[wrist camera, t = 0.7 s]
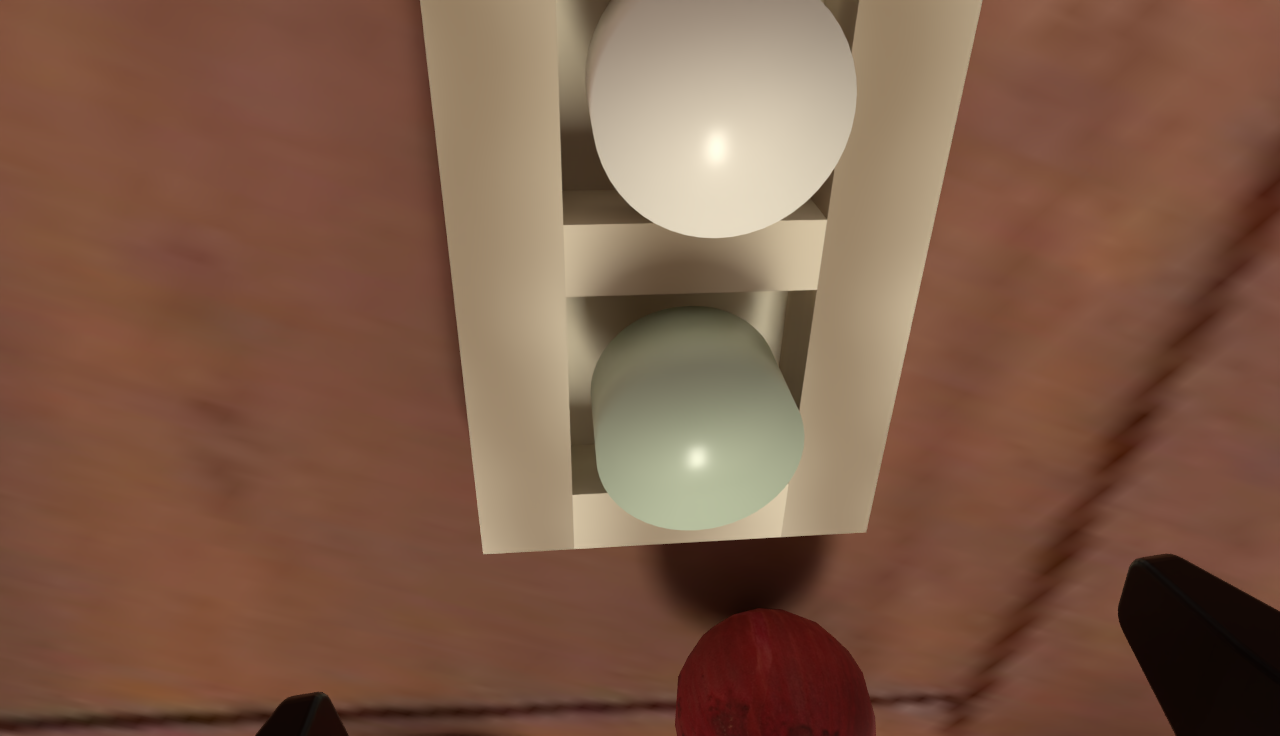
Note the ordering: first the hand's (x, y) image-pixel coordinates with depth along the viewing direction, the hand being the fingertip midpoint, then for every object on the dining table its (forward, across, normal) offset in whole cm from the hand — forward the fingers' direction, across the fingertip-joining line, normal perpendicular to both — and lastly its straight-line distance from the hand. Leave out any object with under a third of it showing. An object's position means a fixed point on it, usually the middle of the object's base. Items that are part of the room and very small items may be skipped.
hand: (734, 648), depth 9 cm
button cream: (+10, -2, -4) cm, 11 cm away
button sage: (+10, -1, +3) cm, 10 cm away
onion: (+13, -2, +14) cm, 19 cm away
